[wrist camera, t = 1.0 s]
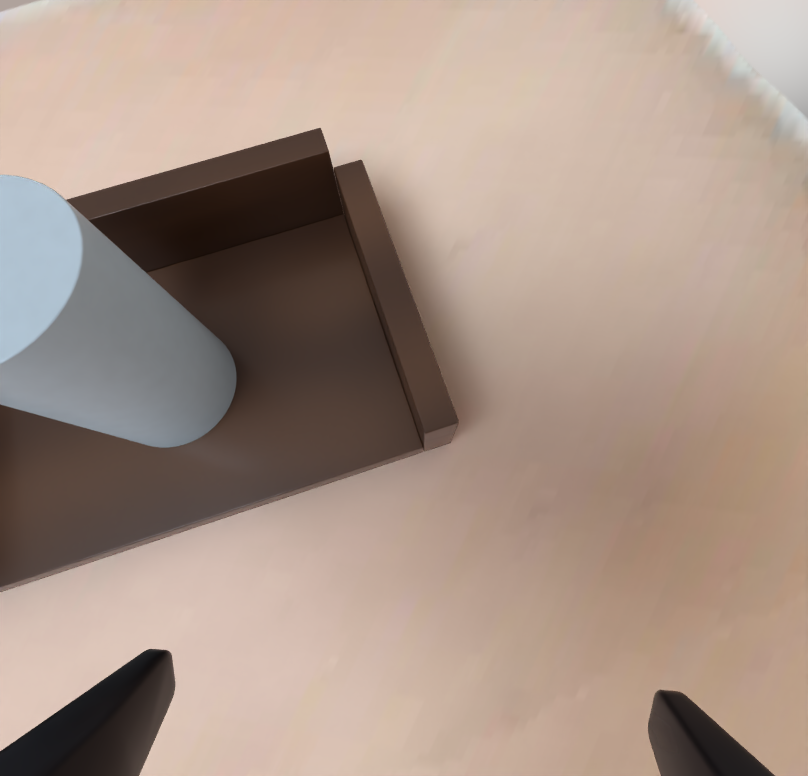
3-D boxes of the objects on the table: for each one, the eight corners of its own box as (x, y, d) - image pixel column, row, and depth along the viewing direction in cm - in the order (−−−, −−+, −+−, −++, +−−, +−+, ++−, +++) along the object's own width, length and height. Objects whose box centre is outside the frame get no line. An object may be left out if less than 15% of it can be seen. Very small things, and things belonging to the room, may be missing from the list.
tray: (451, 442, 23) (461, 417, 17) (-39, 605, 22) (-205, 635, 16) (364, 202, 27) (350, 118, 22) (-50, 325, 26) (-182, 269, 20)
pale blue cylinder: (249, 424, 22) (95, 337, 12) (120, 465, 22) (-157, 413, 11) (216, 281, 25) (63, 101, 14) (99, 316, 24) (-147, 158, 14)
